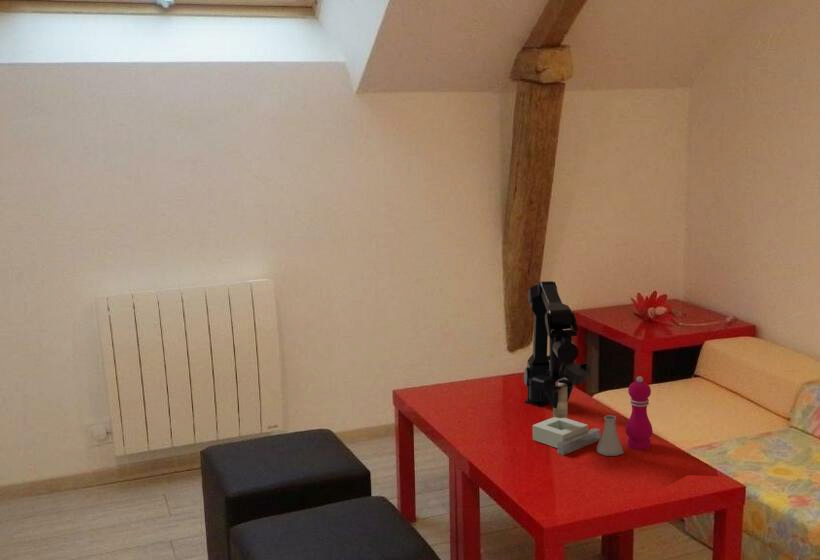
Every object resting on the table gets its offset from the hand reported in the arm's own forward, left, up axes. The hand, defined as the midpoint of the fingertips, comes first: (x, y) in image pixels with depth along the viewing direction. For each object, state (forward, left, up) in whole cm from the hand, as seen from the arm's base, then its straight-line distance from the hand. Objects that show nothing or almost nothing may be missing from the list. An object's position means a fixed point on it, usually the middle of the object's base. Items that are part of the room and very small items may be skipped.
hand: (560, 406), depth 250 cm
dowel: (0, 0, -3) cm, 3 cm away
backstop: (+7, 0, -10) cm, 12 cm away
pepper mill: (+18, +12, -10) cm, 24 cm away
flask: (+15, +3, -10) cm, 19 cm away
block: (0, 0, -10) cm, 10 cm away
